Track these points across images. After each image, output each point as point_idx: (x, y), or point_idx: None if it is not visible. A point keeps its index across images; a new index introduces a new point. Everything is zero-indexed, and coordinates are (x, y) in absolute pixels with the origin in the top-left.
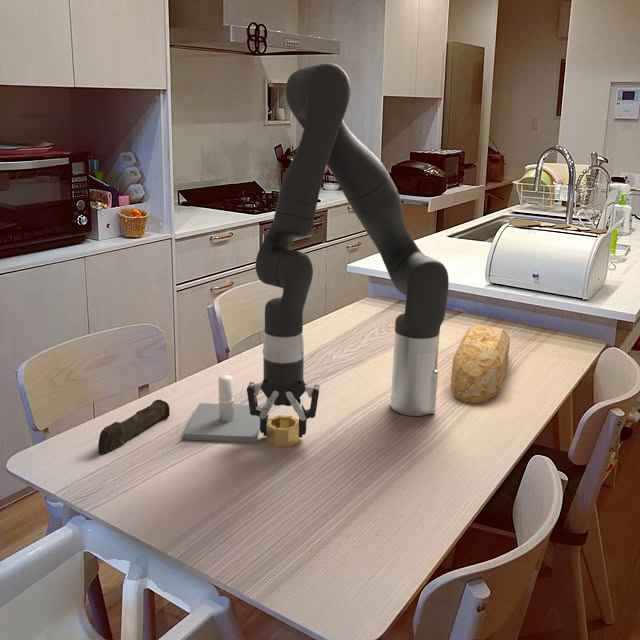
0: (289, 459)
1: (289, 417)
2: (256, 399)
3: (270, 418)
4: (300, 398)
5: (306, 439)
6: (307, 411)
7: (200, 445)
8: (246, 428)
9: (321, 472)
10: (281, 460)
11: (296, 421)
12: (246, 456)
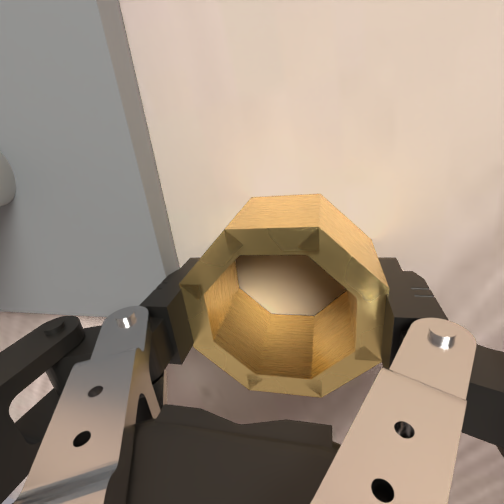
0: (337, 406)
1: (306, 254)
2: (6, 404)
3: (189, 278)
4: (457, 441)
5: (408, 263)
6: (492, 425)
7: (34, 327)
8: (108, 252)
9: (460, 476)
10: (309, 409)
11: (363, 305)
12: (190, 384)
